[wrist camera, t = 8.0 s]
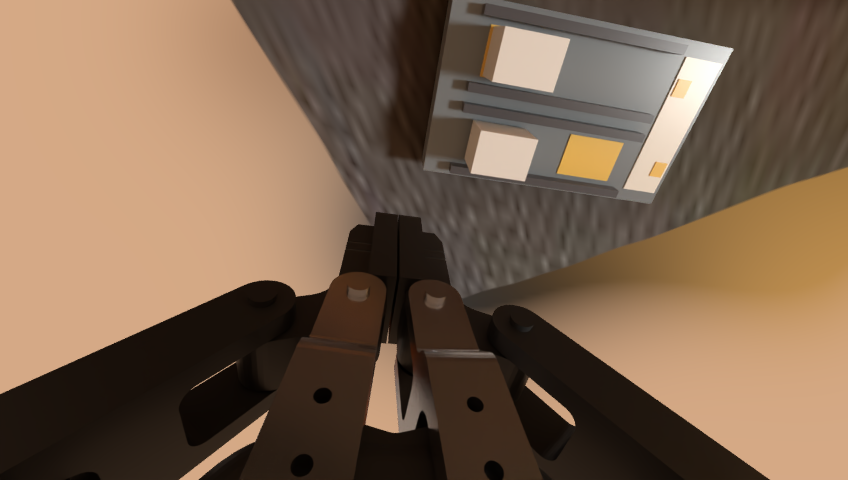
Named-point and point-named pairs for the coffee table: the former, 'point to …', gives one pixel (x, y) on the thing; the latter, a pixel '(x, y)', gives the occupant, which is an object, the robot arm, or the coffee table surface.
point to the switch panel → (573, 100)
